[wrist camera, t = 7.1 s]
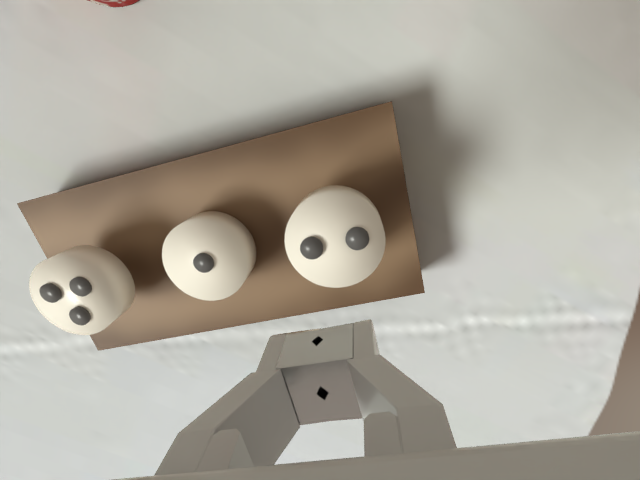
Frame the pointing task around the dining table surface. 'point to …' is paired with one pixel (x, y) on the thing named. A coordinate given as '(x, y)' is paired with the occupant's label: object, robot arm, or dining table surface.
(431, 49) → the dining table surface
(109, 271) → the button three
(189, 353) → the dining table surface
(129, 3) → the mug
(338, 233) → the button two
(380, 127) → the button board
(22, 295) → the dining table surface
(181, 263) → the button one
